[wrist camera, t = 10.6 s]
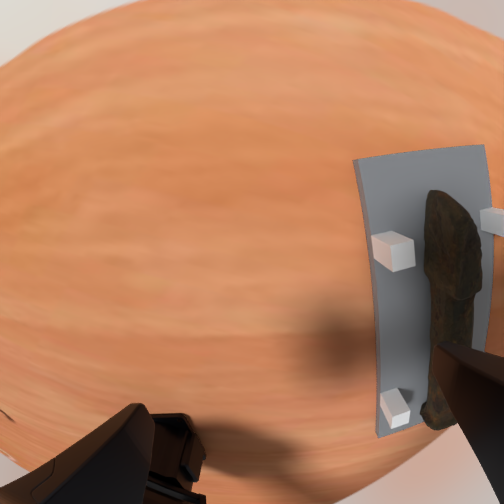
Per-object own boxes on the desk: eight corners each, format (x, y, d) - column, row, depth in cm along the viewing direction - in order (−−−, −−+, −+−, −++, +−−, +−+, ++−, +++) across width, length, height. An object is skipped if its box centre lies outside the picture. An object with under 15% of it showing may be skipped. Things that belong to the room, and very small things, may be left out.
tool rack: (375, 431, 23) (387, 460, 19) (352, 160, 18) (375, 155, 14) (468, 393, 22) (486, 415, 18) (476, 145, 17) (509, 142, 13)
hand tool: (450, 394, 21) (473, 423, 16) (415, 409, 21) (435, 443, 17) (454, 184, 17) (497, 187, 12) (409, 193, 17) (449, 198, 12)
